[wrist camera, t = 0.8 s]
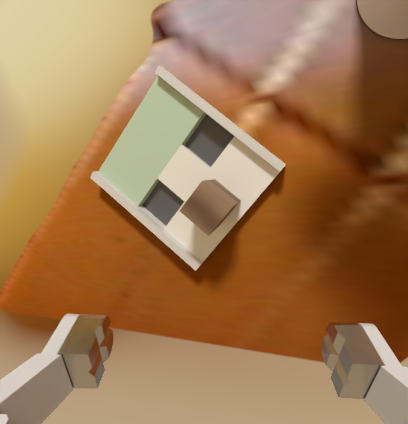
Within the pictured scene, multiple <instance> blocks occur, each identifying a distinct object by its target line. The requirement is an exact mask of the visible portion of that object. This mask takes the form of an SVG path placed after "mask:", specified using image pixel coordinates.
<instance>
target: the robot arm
mask: <svg viewBox="0 0 408 424" xmlns="http://www.w3.org/2000/svg"><path fill="white" fill-rule="evenodd" d="M357 6H358V10H359V13H360V15H361V17H362V19H363V21H364V22H365V23H366V25H367V26H368V27H369V28H370V29H372V30H373V31H374V32H376V33H378V34H380V35H382V36H385V37H388V38H394V39H407V38H408V0H357ZM109 325H110V318H109V316H103V315H86V314H67V315H65V316H64V317H63V319H62V320H61V322H60V324H59V325H58V327H57V328H56V330H55V332H54V333H53V335H52V337H51V338H50V340H49V342H48V343H47V345H46V346H45V348H44V350H43V351H42V353H41V354H36V355H34V356H33V357H32V358H30V359H29V360H28V361H26V362H25V363H23V364H22V365H21V366H19V367H18V368H17V369H15V370H14V371H12V372H11V373H9V374H8V375H7V376H5V377H4V378H3V379H1V380H0V424H41V423H42V422H43V421H44V420H45V419H46V418H47V417H48V416H49V415H50V414H51V413H52V412H53V411H54V410H55V409H56V408H57V407H58V405H59V404H60V403H61V402H62V401H63V400H64V399H65V398H66V397H67V396H68V395H69V394H70V393H71V392H72V391H73V388H98V386H99V383H100V381H101V378H102V375H103V373H104V370H105V369H104V365H103V362H105V361H106V360H107V359H108V358H109V356H110V353H111V350H112V345H113V332H112V330H111V329H110V328H109ZM326 330H327V332H328V335H327V336H325V337H324V338H323V341H322V354H323V358H324V361H325V363H326V365H327V366H328V367H329V368H330V369H331V370H332V371H333V373H332V376H331V379H332V381H333V384H334V387H335V389H336V392H337V394H338V397H342V398H357V399H364V401H365V402H366V403H367V404H368V405H369V406H370V407H371V409H372V410H373V411H374V412H375V413H376V414H377V415H378V416H379V417H380V418H381V419H382V421H383V422H384V423H385V424H408V367H404V366H402V365H401V364H400V362H399V361H398V359H397V358H396V356H395V355H394V353H393V352H392V350H391V349H390V347H389V346H388V344H387V343H386V341H385V339H384V338H383V336H382V335H381V333H380V332H379V330H378V329H377V327H376V326H375V325H374V324H366V323H331V322H330V323H329V324H328V326H327V329H326Z"/></svg>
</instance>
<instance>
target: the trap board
mask: <svg viewBox="0 0 408 424" xmlns="http://www.w3.org/2000/svg"><path fill="white" fill-rule="evenodd" d="M155 73H156V74H157V75H158V77H157V78H156V80H155V81H154V83H153V85H152V86H151V88H150V89H149V91H148V93H147V94H146V96H145V98H144V99H143V101H142V102H141V104H140V106H139V107H138V109H137V110H136V112H135V114H134V115H133V117H132V118H131V120H130V122H129V123H128V125H127V126H126V128H125V130H124V131H123V133H122V134H121V136H120V138H119V139H118V141H117V142H116V144H115V146H114V147H113V149H112V150H111V152H110V154H109V155H108V157H107V158H106V160H105V162H104V163H103V165H102V167H101V168H100V170H99V171H94V172H93V173H92V175H91V177H90V178H91V179H92V180H93V181H95V182H96V183H97V184H98V185H99V186H100V187H101V188H103V189H104V190H105V191H106V192H107V193H108V194H109V195H110V196H112V197H113V198H114V199H115V200H116V201H117V202H118V203H119V204H121V205H122V206H123V207H124V208H125V209H126V210H127V211H128V212H130V213H131V214H132V215H133V216H134V217H135V218H136V219H138V220H139V221H140V222H141V223H142V224H143V225H144V226H145V227H147V228H148V229H149V230H150V231H151V232H152V233H153V234H154V235H156V236H157V237H158V238H159V239H160V240H161V241H162V242H164V243H165V244H166V245H167V246H168V247H169V248H170V249H171V250H173V251H174V252H175V253H176V254H177V255H178V256H179V257H180V258H182V259H183V260H184V261H185V262H186V263H187V264H188V265H190V266H191V267H192V268H193V269H194V270H195V271H196V270H197V269H198V268H199V266H200V265H201V264H202V263H203V262H204V260H205V259H206V258H207V257H208V256H209V255H210V253H211V252H212V251H213V250H214V249H215V248H216V246H217V245H218V244H219V243H220V242H221V240H222V239H223V238H224V237H225V236H226V235H227V233H228V232H229V231H230V230H231V229H232V228H233V226H234V225H235V224H236V223H237V222H238V221H239V219H240V218H241V217H242V216H243V215H244V213H245V212H246V211H247V210H248V209H249V208H250V206H251V205H252V204H253V203H254V202H255V201H256V199H257V198H258V197H259V196H260V195H261V194H262V192H263V191H264V190H265V189H266V188H267V186H268V185H269V184H270V183H271V182H272V181H273V179H274V178H275V177H276V176H277V175H278V174H279V172H280V171H281V170H282V169H283V168H284V167H285V165H286V164H285V163H283V162H282V161H281V160H280V159H278V158H277V157H276V156H275V155H273V154H272V153H271V152H269V151H268V150H267V149H266V148H264V147H263V146H262V145H261V144H259V143H258V142H257V141H256V140H254V139H253V138H252V137H250V136H249V135H248V134H247V133H245V132H244V131H243V130H242V129H240V128H239V127H238V126H236V125H235V124H234V123H233V122H231V121H230V120H229V119H228V118H226V117H225V116H224V115H223V114H221V113H220V112H219V111H217V110H216V109H215V108H214V107H212V106H211V105H210V104H209V103H207V102H206V101H205V100H203V99H202V98H201V97H200V96H198V95H197V94H196V93H195V92H193V91H192V90H191V89H190V88H188V87H187V86H186V85H184V84H183V83H182V82H181V81H179V80H178V79H177V78H176V77H174V76H173V75H172V74H171V73H169V72H168V71H167V70H165V69H164V68H163V67H162V66H160V65H159V66H158V68H157V70H156V71H155ZM213 179H216V180H217V181H218V182H219V183H220V184H222V185H223V186H224V187H225V188H226V189H228V190H229V191H230V192H231V193H232V194H234V195H235V196H236V197H237V198H239V199H240V200H241V201H240V202H239V203H238V204H237V206H236V207H235V208H234V209H233V210H232V212H231V213H230V214H229V215H228V216H227V218H226V219H225V220H224V221H223V222H222V224H221V225H220V226H219V227H218V228H217V229H216V230H214V231H213V232H212V233H211V234H210V235H209V236H208V235H207V234H205V233H204V232H203V231H202V230H201V229H200V228H198V227H197V226H196V225H195V224H194V223H193V222H191V221H190V220H189V219H188V218H187V217H186V216H185V215H183V214H182V213H181V212H180V211H179V210H180V209H181V208H182V206H183V205H184V204H185V203H186V201H187V200H188V199H189V197H190V196H191V195H192V193H193V192H194V191H195V189H196V188H197V187H198V185H199V184H200V183H201V182H202V181H203V180H213Z"/></svg>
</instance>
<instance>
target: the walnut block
mask: <svg viewBox="0 0 408 424" xmlns="http://www.w3.org/2000/svg"><path fill="white" fill-rule="evenodd" d="M240 201H241V200H240V199H239V198H237V197H236V196H235V195H234V194H232V193H231V192H230V191H229V190H228V189H226V188H225V187H224V186H223V185H222V184H220V183H219V182H218V181H217V180H216V179H213V180H203V181H202V182H201V183H200V184H199V185H198V187H197V188H196V189H195V191H194V192H193V193H192V195H191V196H190V197H189V199H188V200H187V201H186V203H185V204H184V205H183V206H182V208H181V209H180V210H179V211H180V212H181V213H182V214H183V215H185V216H186V217H187V218H188V219H189V220H190V221H191V222H193V223H194V224H195V225H196V226H197V227H198V228H200V229H201V230H202V231H203V232H204V233H205V234H207V235H208V236H209V235H210V234H211V233H212V232H213V231H214V230H216V229H217V228H218V227H219V226H220V225H221V224H222V222H223V221H224V220H225V219H226V218H227V216H228V215H229V214H230V213H231V212H232V210H233V209H234V208H235V207H236V206H237V204H238V203H239V202H240Z"/></svg>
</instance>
